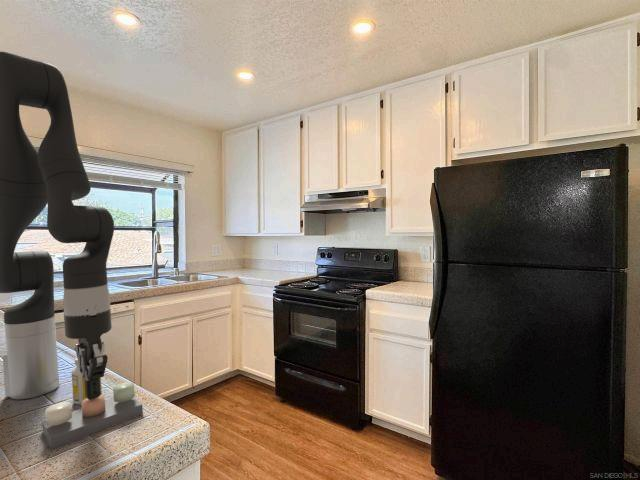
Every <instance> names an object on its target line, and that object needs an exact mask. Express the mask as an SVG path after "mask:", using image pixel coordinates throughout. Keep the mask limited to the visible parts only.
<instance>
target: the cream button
mask: <svg viewBox="0 0 640 480" xmlns="http://www.w3.org/2000/svg"><path fill="white" fill-rule="evenodd" d="M72 411H73V410H72V403H71V402H69V401H64V402H63V401H62V402H58V403H55V404H52V405H50V406H48V407H46V409H45V421H46V424H47V425H48V426H55V425H59V424H62V423H65V422H67V421H69V420H70V419H71V418H72Z"/></svg>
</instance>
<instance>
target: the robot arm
mask: <svg viewBox="0 0 640 480" xmlns="http://www.w3.org/2000/svg"><path fill="white" fill-rule="evenodd" d="M68 91H69V90H68V87H67V83H66V80H65V77H64V76H63V73H62V72H61V70H60V69H59V68H58V67H57V66H55V65H53V64H51V63H48V62H45V61H42V60H39V59H36V58H35V59H34V58H30V57H28V56H27V57H26V56H23V55H19V54H16V53H11V52H6V51H0V294H12V293H19V292H26V291H27V292H28V291H34V293H33V294H32V295H31V296H30V297H28V298H27V299H25V300H24V301H22V302H21V303H18V304H16V305H14V306H12V307H9V308H8V309H6V310H5V311H4V313H3V322H4V324H3V325H4V333H5V334H4V335H5V349H6V354H4V355H3V356H2V367H3V368H2V369H3V383H4V384H3V385H4V394H5V395H4V396H5V397H6V398H8V397H9V398H10V399H13V400H27V399H31V398H36V397H39V396H42V395H45V394H48V393H50V392H52V391H54V390H56V389H57V388H58V387H60V374H59V362H58V361H59V359H58V356H59V355H58V346H57V331H56V330H57V329H56V316H55V315H56V314H55V291H54V285H55V284H54V281H55V280H54V275H55V271H54V261H53V257H52V255H51V254H50V253H49V252H48V251H46V250H29V251H26V250H25V251H16V247H17V244H18V242H19V240H20V238H21V236H23V233H24V232H25V231H26V229H27V228H28V227H29V226H30V225H31V224H32V223H33V222H34V221H35V219H36V218H38V216H39V215H40V214H41V213H42V212H43V211H44V210H45V208H46V206H47V213H46V214H47V218H46V227H47V230H48V232H49V234H50V236H51V237H53V239H54V240H55V241H58V242H60V243H61V244H79V243H81V244H82V243H85V246H84V248H83V249H82V251H81V252H80V253H77V254H76V255H71V256H69V257H67V258H65V259H64V260H63V262H62V278H63V279H62V280H63V281H62V282H63V298H62V299H63V301H62V304H63V307H62V308H63V318H64V319H63V322H64V333H65V334H64V335H65V337H66V338H67V339H69V340H70V339H71V340H72V339H73V340H77V342H78V343H76V344H75V345H74V346H75V347H74V350H75V354H76V358H77V359H78V363H79V367H80V372H81V373H83V375H82V377H83V379H85V394H86V397H87V399H89V400H91V399H94V398H97V397H99V396H100V395H101V391H100V378H101V379H102V378H103V377H104V376H105V373H106V372H105V371H106V369H107V364H108V360H109V358H108V356H107V354H104V352H105V342H104V341H102V338H101V337H102V335H104V334H107V333H108V332H110V331H111V330H112V326H113V325H112V316H111V315H112V313H111V297H110V291H109V285H108V270H107V263H108V259H109V253H110V248H111V245H112V241H113V237H114V231H115V222H114V218H113V216H112V214H111V212H110V211H109V210H108V209H107V208H105V207H103V206H100V205H75V204H74V202H73V201H77V200H80V199H83V198H86V197H87V196H88V195H89V194H90V192H91V190H92V189H91V186H92V185H91V182H90V180H89V177H88V174H87V171H86V168H85V166H84V162H83V160H82V158H81V154H80V152H79V147H78V144H77V137H76V133H75V125H74V120H73V119H74V118H73V113H72V108H71V102H70V97H69V92H68ZM20 106H25V107H31V108H36V109H42V110H46V111H47V113H48V115H49V117H50V125H49V127H48V129H47V132H46V133H45V134H44V137H43V139H42V141H41V143H40V145H39V147H38V150H37V148H36V147H35V146H34V145H33V143H32V141H31V140H30V139H29V137H28V135H27V133H26V131H25V130H24V127H23V124H22V120H21V115H20Z"/></svg>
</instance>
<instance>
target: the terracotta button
mask: <svg viewBox="0 0 640 480" xmlns="http://www.w3.org/2000/svg"><path fill="white" fill-rule="evenodd" d="M105 400H106V398H105V395H103V394H102V395H100V396H99V397H97V398H94V399H91V400H89V399H87V398H86V399H84V400H83V401H82V404H81V408H82V415H83V416H84V417H91V416H95V415H98V414H100V413H102V412H103V411H105Z"/></svg>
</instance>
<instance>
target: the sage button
mask: <svg viewBox="0 0 640 480" xmlns="http://www.w3.org/2000/svg"><path fill="white" fill-rule="evenodd" d="M112 391H113V392H112V393H113V398H114V401H115V402H124V401H128V400H130V399H132V398H133V397H134V398H135V395H136V394H135V393H136V392H135V383H134V382H131V381H126V382H125V381H124V382H121V383H118V384H116V385H115V386H113V388H112Z"/></svg>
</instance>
